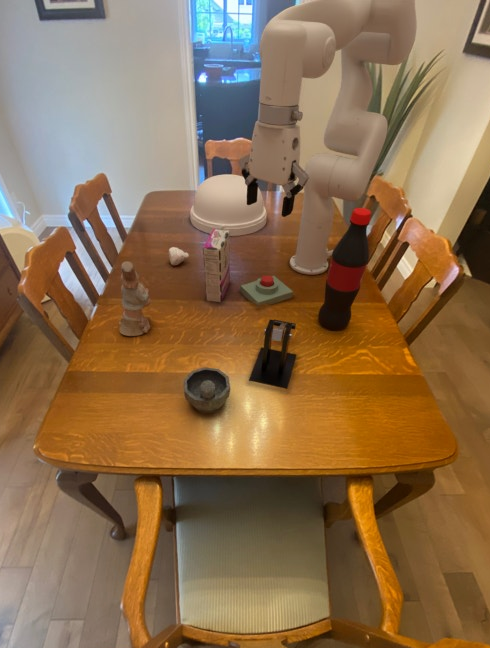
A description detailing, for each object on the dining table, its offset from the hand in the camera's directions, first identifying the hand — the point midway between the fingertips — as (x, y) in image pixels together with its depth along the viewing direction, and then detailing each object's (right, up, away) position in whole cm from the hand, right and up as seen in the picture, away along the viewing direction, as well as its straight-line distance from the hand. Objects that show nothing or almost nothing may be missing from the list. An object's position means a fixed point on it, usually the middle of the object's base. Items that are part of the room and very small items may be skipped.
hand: (268, 209), depth 83 cm
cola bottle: (+19, -23, +17) cm, 34 cm away
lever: (+3, -28, +2) cm, 28 cm away
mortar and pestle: (-14, -45, -3) cm, 47 cm away
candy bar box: (-13, -11, +27) cm, 32 cm away
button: (+2, -10, +23) cm, 25 cm away
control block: (+1, -12, +26) cm, 29 cm away
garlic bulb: (-26, +2, +37) cm, 46 cm away
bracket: (+1, -36, +5) cm, 37 cm away
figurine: (-34, -24, +15) cm, 44 cm away
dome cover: (-10, +28, +61) cm, 68 cm away
